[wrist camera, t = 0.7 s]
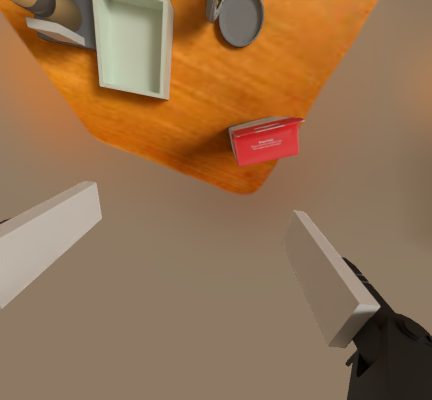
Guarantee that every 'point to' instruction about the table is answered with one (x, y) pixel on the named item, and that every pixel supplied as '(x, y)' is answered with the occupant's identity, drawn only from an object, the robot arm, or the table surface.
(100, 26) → the parts tray
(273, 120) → the ink box
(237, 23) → the pocket watch
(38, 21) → the fuse board
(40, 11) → the cylinder
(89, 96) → the table surface
